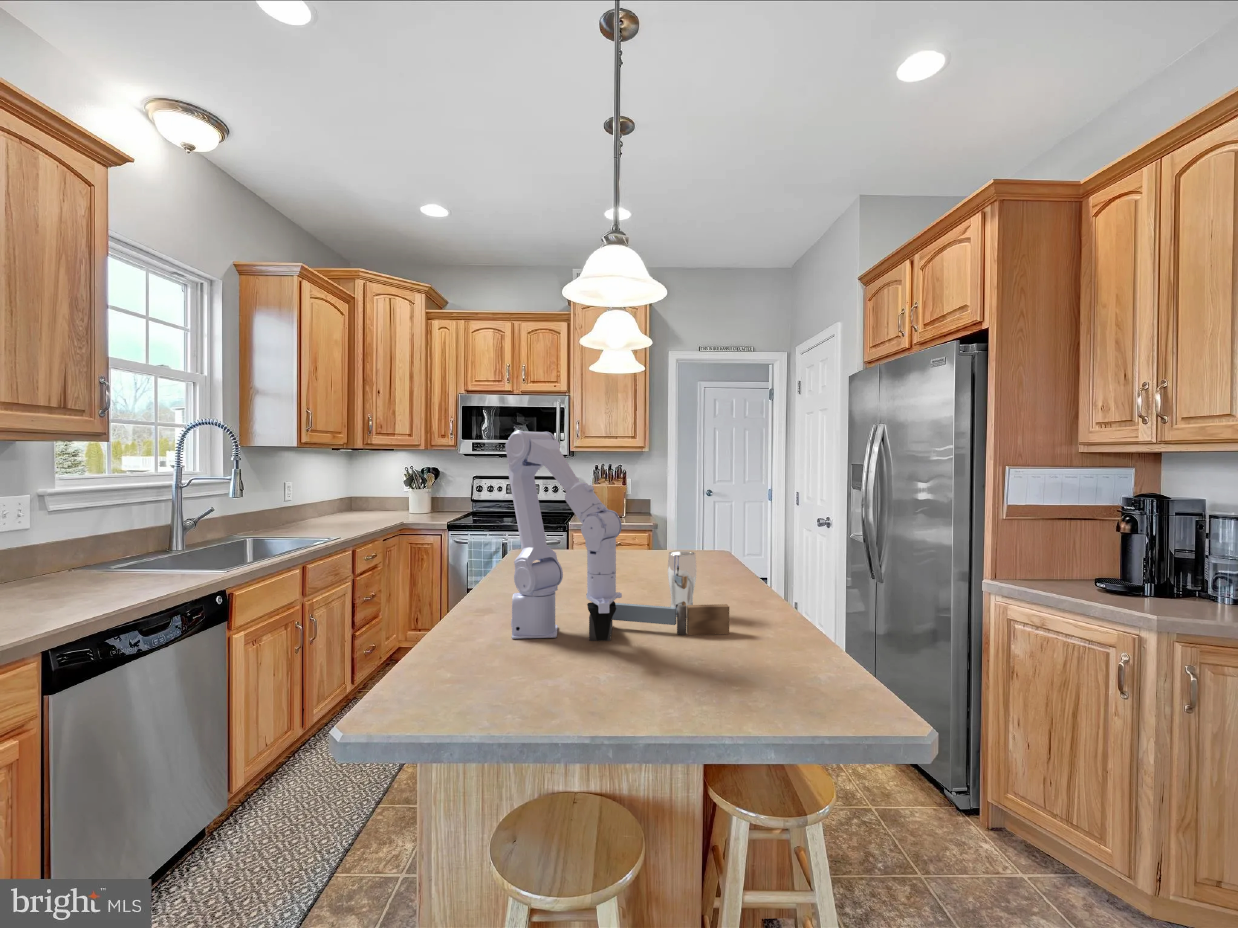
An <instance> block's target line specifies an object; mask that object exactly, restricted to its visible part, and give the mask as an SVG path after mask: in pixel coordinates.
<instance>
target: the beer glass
mask: <svg viewBox="0 0 1238 928" xmlns="http://www.w3.org/2000/svg"><path fill="white" fill-rule="evenodd" d="M696 556H697V555H696V552H694V551H688V550H673V551H669V552H668V559H667V579H668V587H669V592H670V605H669V607H676V618H677V606H678V605H684V606H686V619H687V605H694V602H693V600H694V592H695V587H696V586H695V585H696V581H697V580H696V579H697V558H696Z"/></svg>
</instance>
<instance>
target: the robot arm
mask: <svg viewBox="0 0 1238 928" xmlns="http://www.w3.org/2000/svg"><path fill="white" fill-rule="evenodd" d="M560 445H561V444H560V442H559V441H558V440H557V439H556V437H555V435H554V434H553V433H552V432H549V431H526V430H524V431H523V430H515V431H513V432H512V433H511V434H510V436H509V438H508V439H507V441H506V443H505V445H504V447H505V452H506V458H507V463H508V469H507V470H508V474H507V475H508V479H509V484H510V490H511V495H512V496H511V497H512V501H513V508H514V512H515V517H516V522H517V528H518V529H517V530H518V535H519V539H520V540H519V541H520V546H521V551H520V553H519V555H517V556H516V558H515V559H514V561H513V563H514V564H513V565H514V574H513V575H514V576H513V582H514V586H515V587H516V589H517V590H518V592H514V593H513V594H512V598H511V599H512V601H511V621H510V622H511V623H510V625H511V639H516V640H517V639H550V638H551V639H553V638H557V637H558V628H559V627H558V624H556V591H558V586H559V585H561V583H562V581H563V579H564V572H563V567H562V566H561V563H560V562H559V559H558V557H557V552H556V551H554V550H553V549H552V548H551V547H550V546H548V544H547V539H546V532H545V529H544V528H545V527H544V523H543V522H544V521H543V519H542V516H543V515H542V512H541V507H540V501H539V496H538V491H537V489H538V488H537V486H536V480H535V476H536V474H537V473H538V471H540V470H541V469H542V468H543V467H545V468H546V469H547V470H548V471H549V472H550V475H552V477H553V478H554V479H555V480H556V481H557V483H558V484H559V485H560V486H561V487H562V488H563V490H564V491H565V493H564V494H565V495H564V500H565V502H566V504H567V505H568V506H569V508H570V509H571V511H572V512H573V513H574V514H575V516H576V517H577V518H578V520H579V522H580V524H581V526H580V532H581V535H582V537H583V539H584V540H585V548H586V550H587V551H586V554H587V561H586V562H587V563H586V564H587V565H586V566H587V567H586V568H587V570H586V572H587V573H586V574H587V577H586V579H587V580H586V581H587V583H586V585H587V586H586V587H587V590H586V591H587V593H586V599H587V600H588V601H589V602H587V603H586V605H587V610H588V612H589V615H590V614H591V617H592V620H593V623H594V630H595V636H596V640H597V642H600V641H601V642H608V641H607V638H608V634H609V629H610V624H611V620H612V617H613V615H614V613H615V611H616V606H615V603H616V601H615V600H617V599H620V598H622V597H623V595H622V592H617V555H616V554H617V537H618V536H620V534H621V531H622V527H623V525H622V520H621V518H620V516H619V514H618V512H616V511H615V510H612V509H609V508H607V506H606V504H604V503H603V502H602V501H601V499H600V498H599V497H598V496H597V494H596V493H595V491H594V490H595V489H594V487H593V486H592V485H591V484H589V483H587V482H580V480H579V479H578V477H577V475H576V474H575V473H574V471H573V469H572V467H571V466H570V464H569V463H568V462H567V459H566V458H565V456H564V455H563V453H562V452H561V450H560V449H561V446H560ZM536 560H537V562H535V561H536ZM612 621H613V620H612Z"/></svg>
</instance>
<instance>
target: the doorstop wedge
mask: <svg viewBox="0 0 1238 928" xmlns="http://www.w3.org/2000/svg"><path fill="white" fill-rule="evenodd" d="M588 618H589V620H588V621H589V622H588V640H589V641H593V642H595V641H597V640H596V636H595V630H594V623H593V620H592V617H591V614H590V613H589V617H588ZM612 632H613V620H611V624H610V629H609V634H608V638H607V641H606V642H611V641H612V640H611V639H612V634H613V633H612ZM597 642H598V641H597Z"/></svg>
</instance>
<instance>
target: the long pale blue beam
mask: <svg viewBox="0 0 1238 928" xmlns="http://www.w3.org/2000/svg"><path fill="white" fill-rule="evenodd" d="M615 606H616V611H615V613H614V615H613V617H612V621H618V622H619V621H620V622H632V623H633V622H635V623H645V624H656V625H667V626H668V625H670V626H677V617H676V607H670V606H665V605H664V606H663V605H662V606H661V605H649V604H638V603H624V602H622V603H621V602H615Z"/></svg>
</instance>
